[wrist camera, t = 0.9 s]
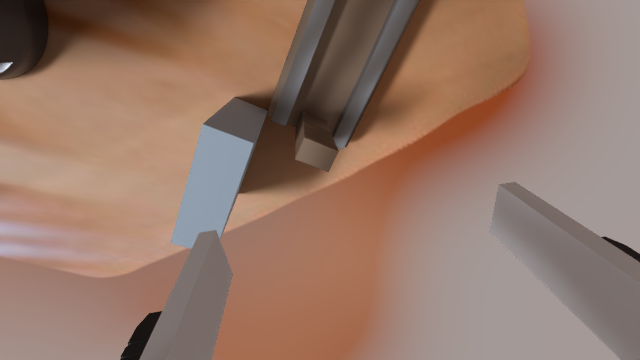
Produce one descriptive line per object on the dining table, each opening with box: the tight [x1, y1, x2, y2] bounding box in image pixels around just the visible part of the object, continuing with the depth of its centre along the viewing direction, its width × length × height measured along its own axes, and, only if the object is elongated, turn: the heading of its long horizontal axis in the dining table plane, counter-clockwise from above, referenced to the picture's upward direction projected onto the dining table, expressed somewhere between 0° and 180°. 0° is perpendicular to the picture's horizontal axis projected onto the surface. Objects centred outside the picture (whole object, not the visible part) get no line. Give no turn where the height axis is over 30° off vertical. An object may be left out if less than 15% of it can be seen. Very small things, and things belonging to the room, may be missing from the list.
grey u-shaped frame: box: [266, 0, 420, 172], centre depth 24 cm, size 10×26×12 cm, turn 156°
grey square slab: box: [171, 97, 268, 249], centre depth 29 cm, size 4×12×12 cm, turn 156°
